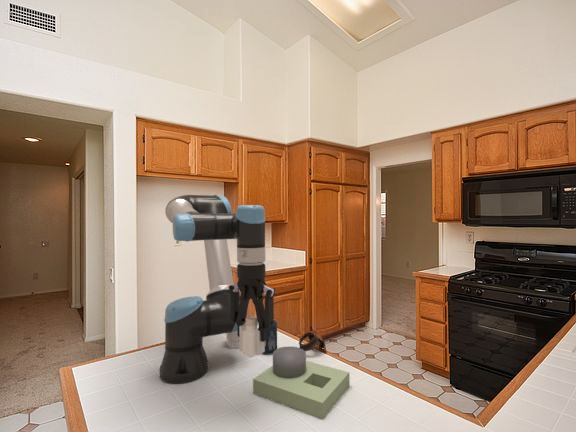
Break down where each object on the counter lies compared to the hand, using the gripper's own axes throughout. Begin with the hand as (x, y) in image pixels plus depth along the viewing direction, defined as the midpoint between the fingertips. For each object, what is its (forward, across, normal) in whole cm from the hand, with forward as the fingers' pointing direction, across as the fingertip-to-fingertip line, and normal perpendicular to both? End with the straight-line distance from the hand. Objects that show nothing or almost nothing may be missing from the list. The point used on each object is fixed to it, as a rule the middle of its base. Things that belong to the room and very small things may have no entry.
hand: (252, 350), depth 83 cm
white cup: (+15, -29, +31) cm, 44 cm away
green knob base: (+15, +8, +14) cm, 22 cm away
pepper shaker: (+1, 0, 0) cm, 1 cm away
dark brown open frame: (+15, 0, +40) cm, 42 cm away
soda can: (+15, -15, +32) cm, 38 cm away
